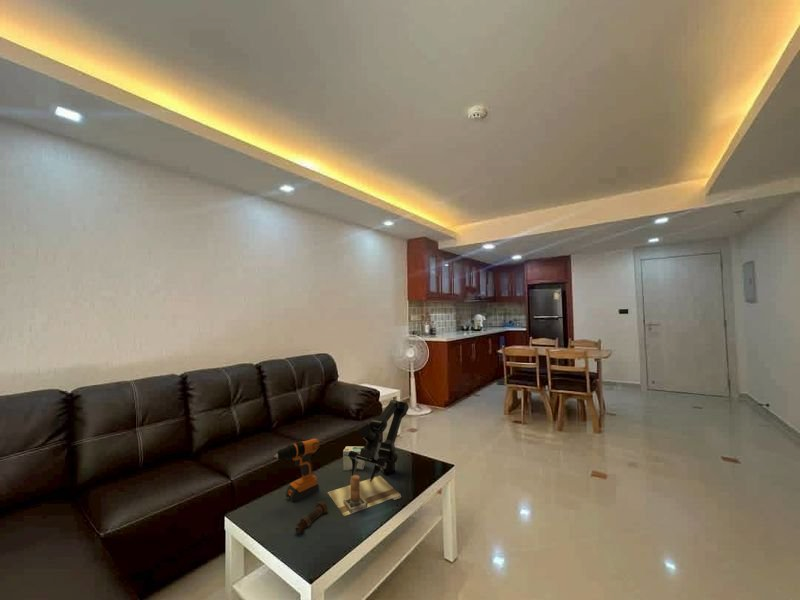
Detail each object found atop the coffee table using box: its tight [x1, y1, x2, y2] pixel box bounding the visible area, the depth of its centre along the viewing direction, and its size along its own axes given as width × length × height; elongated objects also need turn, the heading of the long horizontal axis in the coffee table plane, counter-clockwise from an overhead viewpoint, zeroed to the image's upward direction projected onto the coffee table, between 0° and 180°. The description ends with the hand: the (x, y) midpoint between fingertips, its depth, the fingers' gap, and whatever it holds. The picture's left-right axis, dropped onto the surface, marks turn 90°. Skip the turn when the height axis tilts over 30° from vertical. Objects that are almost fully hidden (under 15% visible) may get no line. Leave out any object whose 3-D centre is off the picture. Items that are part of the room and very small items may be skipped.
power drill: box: [273, 438, 320, 502], centre depth 153 cm, size 22×7×25 cm, turn 134°
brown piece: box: [349, 474, 361, 507], centre depth 144 cm, size 4×4×12 cm
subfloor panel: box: [327, 475, 402, 517], centre depth 153 cm, size 28×21×3 cm
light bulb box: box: [342, 445, 366, 471], centre depth 180 cm, size 11×7×11 cm, turn 84°
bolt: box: [294, 501, 328, 534], centre depth 134 cm, size 6×5×15 cm
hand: (361, 478), depth 153 cm, fingers open, 9 cm apart
